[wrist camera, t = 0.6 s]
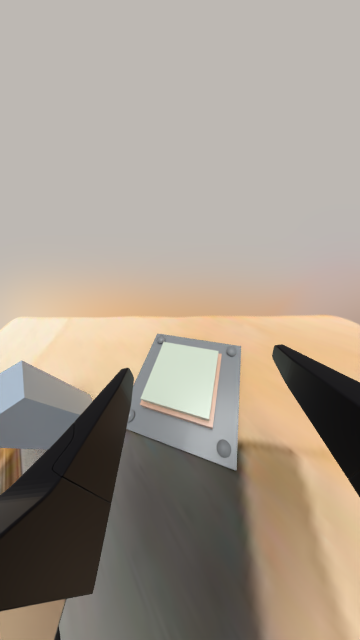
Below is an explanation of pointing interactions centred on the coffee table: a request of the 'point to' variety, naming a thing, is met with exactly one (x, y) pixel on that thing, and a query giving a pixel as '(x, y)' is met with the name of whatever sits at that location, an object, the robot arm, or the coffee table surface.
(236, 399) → the bolted base plate
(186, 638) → the coffee table surface
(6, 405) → the tall brick
